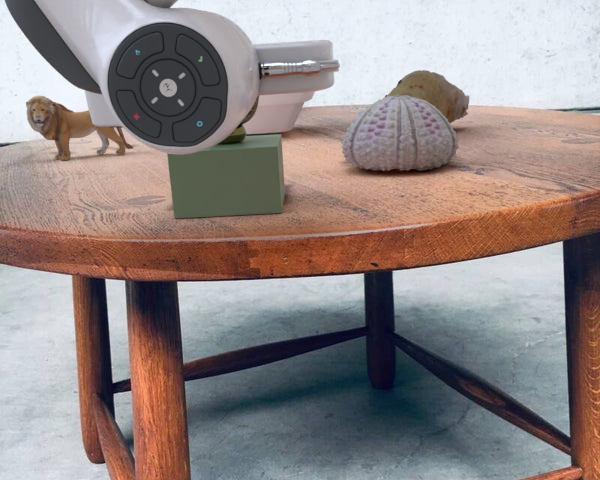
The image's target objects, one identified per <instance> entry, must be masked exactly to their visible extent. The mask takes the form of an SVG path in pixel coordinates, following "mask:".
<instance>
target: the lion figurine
mask: <svg viewBox="0 0 600 480" xmlns="http://www.w3.org/2000/svg"><path fill="white" fill-rule="evenodd" d="M25 106H26V119H27V122H28V124H29V126H30V128H31V129H32V130H33V131H34V132H37V133H39V134H40V135H41V136H42V137H43V139H45V140H47V141H54V143H55V147H56V149H57V152H58V153H57V154H56V155H55V156H54V159H55V160H60V161H70V159H71V153H72V152H71V150H70V141H71V139H83V138H86V137H88V136H90V135H91V134H92V133H94V132H96V133H97V135H98V137H99V139H100V140H101V144H102V145H101V147H100V149H97V150H96V155H105V154H106V152H107V150H108V148H109V146H110V141H111V142H114V143H115V144H117V146H118V147H119V149H116V150H115V154H116V155H118V156H121V155H125V154H126V149H128V150H130V149H131V150H133V149H134V147H133V146H132V145H131V144H129V143H128V142H127V140H126V138H125V135H124V132H123V129H122V128H116V130H115V127H109V126H103V127H99V126H95V125H94V124H93V123H92V120H91V116H90V113H89V109H88V110H83V111H74V110H71V109H68V108H67V106H65V105H63V104H62V103H58V102H56V101H53V100H52V99H50V98H49V97H46V96H45V95H35V96H32V97H31V98H29V99H28V101H26V102H25ZM117 132H118V133H117ZM109 140H110V141H109Z"/></svg>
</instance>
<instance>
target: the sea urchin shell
mask: <svg viewBox="0 0 600 480" xmlns="http://www.w3.org/2000/svg"><path fill="white" fill-rule="evenodd" d="M384 97H385V96H384ZM384 97H383V98H382V99H380V100H379V99H377V100H376V101H374V102H372V104H370V105H367V106H366V107H365V109H364V110H362V111H359V112H358V115H357V116H356V118H353V119H352V120H351V121H352V123H351V125H349V126H348V127H347V131H346V132H345V133H344V134H343V135H342V136H343V140H342V141H340V143H341V148H342V151H341V153H342V154H343V158H345V161H346V162H347V163H348V164H351V166H354V168H359V169H364V170H371V171H375V172H376V171H383V172H386V171H388V172H389V171H392V170H399V171H400V172H402V171H407V172H408V171H411V170H417V171H419V172H420V171H427V170H433V169H435V168H440V167H442V165H447V163H450V162H451V161H453V157H455V156H456V154H457V151H458V149H459V147H460V146H459V143H458V142H459V138H458V137H457V131H455V130H454V126H452V123H449V122H448V120H447V119H446V118H445V116H443V115H442V113H441V112H440V111H439V110H438V109H437V108H436V107H435V106H433V105H432V104H430V103H428V101H425V100H422V99H419V98H414V97H411V96H408V95H403V96H398V95H397V96H387V97H385V98H384Z"/></svg>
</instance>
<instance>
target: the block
mask: <svg viewBox="0 0 600 480" xmlns="http://www.w3.org/2000/svg"><path fill="white" fill-rule="evenodd" d="M166 156H167V164H168V172H169V182H170V192H171V193H170V194H171V200H172V209H173V210H172V211H173V219H194V218H196V219H197V218H214V217H216V218H217V217H234V216H250V215H251V216H253V215H269V214H270V215H272V214H282V213H283V207H284V202H285V196H286V190H285V189H286V186H285V171H284V153H283V137H282V133H278V134H276V133H274V134H256V135H246V137H245V139H244V140H243V141H241V142H239V143H233V144H216V145H214V146H212V147H210V148H208V149H205V150H202V151H199V152H195V153H191V154H184V155H175V154H168V153H166Z"/></svg>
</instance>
